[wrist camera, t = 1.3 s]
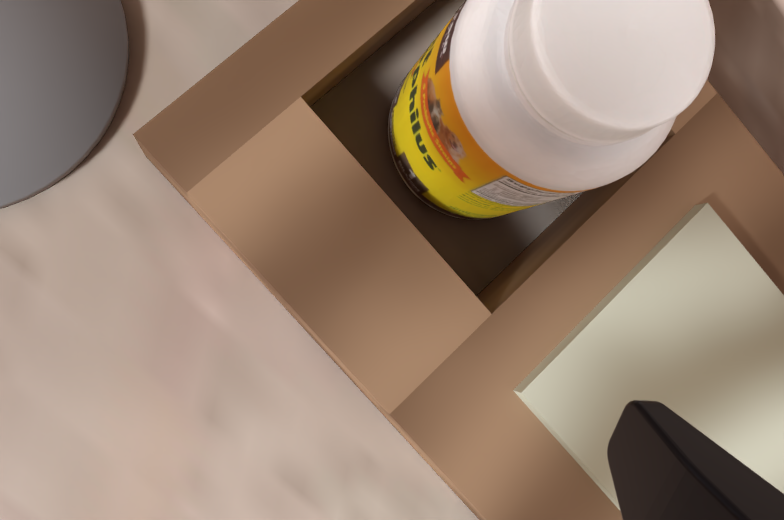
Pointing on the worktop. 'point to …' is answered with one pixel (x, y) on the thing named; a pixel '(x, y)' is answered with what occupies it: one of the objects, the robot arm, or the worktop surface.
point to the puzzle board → (498, 278)
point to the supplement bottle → (545, 99)
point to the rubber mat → (56, 87)
